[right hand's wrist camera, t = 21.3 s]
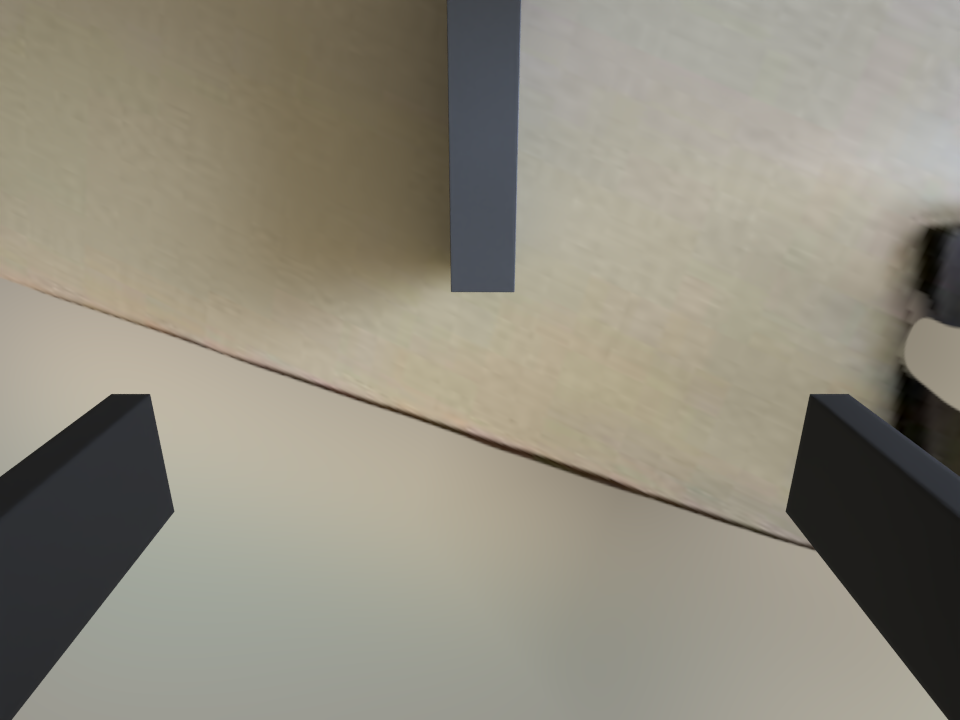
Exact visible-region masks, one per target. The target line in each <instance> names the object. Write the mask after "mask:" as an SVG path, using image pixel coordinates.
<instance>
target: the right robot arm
mask: <svg viewBox="0 0 960 720" xmlns="http://www.w3.org/2000/svg"><path fill="white" fill-rule="evenodd" d="M173 513H174V508H173V503H172V499H171V494H170V489H169V484H168V479H167V474H166V469H165V464H164V460H163V455H162V450H161V445H160V440H159V435H158V430H157V426H156V421H155V416H154V411H153V406H152V401H151V397H150V394H111V395H110V396H108V397H107V398H106V399H104V400H103V401H102V402H100V403H99V404H98V405H96V406H95V407H94V408H92V409H91V410H90V411H88V412H87V413H86V414H84V415H83V416H81V417H80V418H79V419H77V420H76V421H75V422H73V423H72V424H71V425H69V426H68V427H67V428H65V429H64V430H63V431H61V432H60V433H59V434H57V435H56V436H55V437H53V438H52V439H51V440H49V441H48V442H46V443H45V444H44V445H43V446H41V447H40V448H38V449H37V450H36V451H34V452H33V453H32V454H30V455H29V456H28V457H26V458H25V459H24V460H22V461H21V462H20V463H18V464H17V465H16V466H14V467H13V468H11V469H10V470H9V471H7V472H6V473H5V474H3V475H2V476H1V477H0V720H12V719H13V717H14V716H15V715H16V713H17V712H18V711H19V710H20V708H21V707H22V706H23V704H24V703H25V702H26V701H27V699H28V698H29V697H30V696H31V694H32V693H33V692H34V690H35V689H36V688H37V687H38V685H39V684H40V683H41V681H42V680H43V679H44V678H45V676H46V675H47V674H48V672H49V671H50V670H51V669H52V667H53V666H54V665H55V664H56V662H57V661H58V660H59V658H60V657H61V656H62V655H63V653H64V652H65V651H66V650H67V648H68V647H69V646H70V644H71V643H72V642H73V640H74V639H75V638H76V637H77V635H78V634H79V633H80V632H81V630H82V629H83V628H84V626H85V625H86V624H87V623H88V621H89V620H90V619H91V617H92V616H93V615H94V614H95V612H96V611H97V610H98V608H99V607H100V606H101V605H102V603H103V602H104V601H105V600H106V598H107V597H108V596H109V594H110V593H111V592H112V591H113V589H114V588H115V587H116V586H117V584H118V583H119V582H120V580H121V579H122V578H123V577H124V575H125V574H126V573H127V571H128V570H129V569H130V568H131V566H132V565H133V564H134V562H135V561H136V560H137V559H138V557H139V556H140V555H141V554H142V552H143V551H144V550H145V548H146V547H147V546H148V545H149V543H150V542H151V541H152V539H153V538H154V537H155V536H156V534H157V533H158V532H159V530H160V529H161V528H162V527H163V525H164V524H165V523H166V521H167V520H168V519H169V518H170V516H171V515H172V514H173ZM786 513H787V514H788V515H789V516H790V518H791V519H792V520H793V522H794V523H795V524H796V525H797V527H798V528H799V529H800V530H801V532H802V533H803V534H804V536H805V537H806V538H807V539H808V541H809V542H810V543H811V545H812V546H813V547H814V548H815V550H816V551H817V552H818V554H819V555H820V556H821V557H822V559H823V560H824V561H825V562H826V564H827V565H828V566H829V568H830V569H831V570H832V571H833V573H834V574H835V575H836V577H837V578H838V579H839V580H840V582H841V583H842V584H843V585H844V587H845V588H846V589H847V591H848V592H849V593H850V594H851V596H852V597H853V598H854V600H855V601H856V602H857V603H858V605H859V606H860V607H861V609H862V610H863V611H864V612H865V614H866V615H867V616H868V617H869V619H870V620H871V621H872V623H873V624H874V625H875V626H876V628H877V629H878V630H879V632H880V633H881V634H882V635H883V637H884V638H885V639H886V641H887V642H888V643H889V644H890V646H891V647H892V648H893V649H894V651H895V652H896V653H897V655H898V656H899V657H900V658H901V660H902V661H903V662H904V664H905V665H906V666H907V667H908V669H909V670H910V671H911V673H912V674H913V675H914V676H915V678H916V679H917V680H918V681H919V683H920V684H921V685H922V687H923V688H924V689H925V690H926V692H927V693H928V694H929V696H930V697H931V698H932V699H933V701H934V702H935V703H936V705H937V706H938V707H939V708H940V710H941V711H942V712H943V713H944V715H945V716H946V717H947V719H948V720H960V477H959V476H958V475H957V474H955V473H954V472H953V471H951V470H950V469H949V468H947V467H946V466H944V465H943V464H942V463H940V462H939V461H938V460H936V459H935V458H934V457H932V456H931V455H930V454H928V453H927V452H926V451H924V450H923V449H922V448H920V447H919V446H918V445H916V444H915V443H914V442H912V441H911V440H909V439H908V438H907V437H905V436H904V435H903V434H901V433H900V432H899V431H897V430H896V429H895V428H893V427H892V426H891V425H889V424H888V423H887V422H885V421H884V420H883V419H881V418H880V417H879V416H877V415H876V414H874V413H873V412H872V411H870V410H869V409H868V408H866V407H865V406H864V405H862V404H861V403H860V402H858V401H857V400H856V399H854V398H853V397H852V396H850V395H849V394H810V397H809V401H808V406H807V411H806V416H805V421H804V426H803V430H802V435H801V440H800V445H799V450H798V455H797V460H796V464H795V469H794V474H793V479H792V484H791V489H790V493H789V498H788V503H787V508H786Z"/></svg>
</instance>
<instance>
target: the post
mask: <svg viewBox="0 0 960 720" xmlns="http://www.w3.org/2000/svg"><path fill="white" fill-rule="evenodd" d="M520 22H521V0H447V39H448V109H449V179H450V249H451V292H514V286H515V242H516V198H517V154H518V110H519V66H520Z"/></svg>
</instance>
